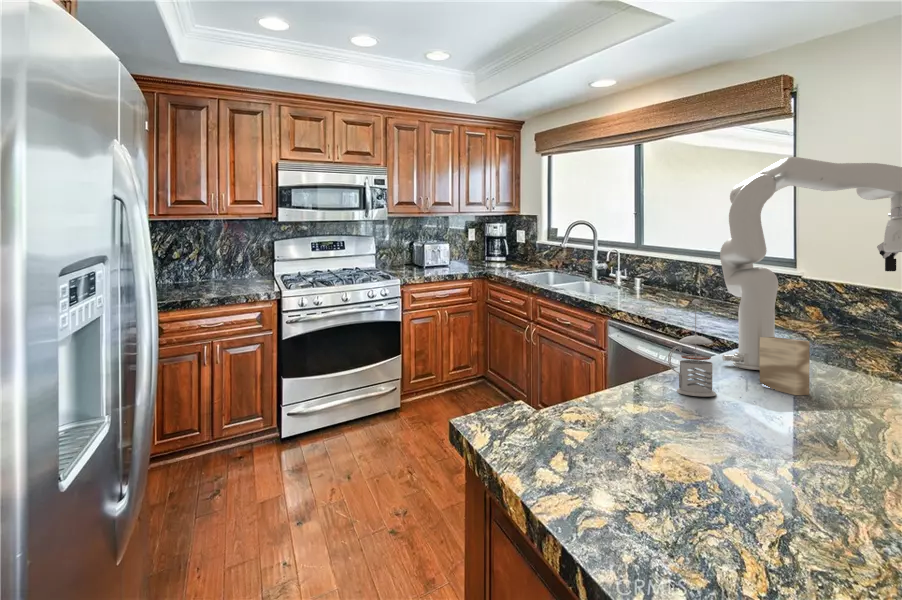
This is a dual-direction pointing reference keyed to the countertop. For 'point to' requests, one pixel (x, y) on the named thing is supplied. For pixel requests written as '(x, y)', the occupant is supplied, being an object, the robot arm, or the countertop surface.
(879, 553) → the countertop surface
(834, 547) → the countertop surface
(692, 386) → the french press
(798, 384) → the maple block
